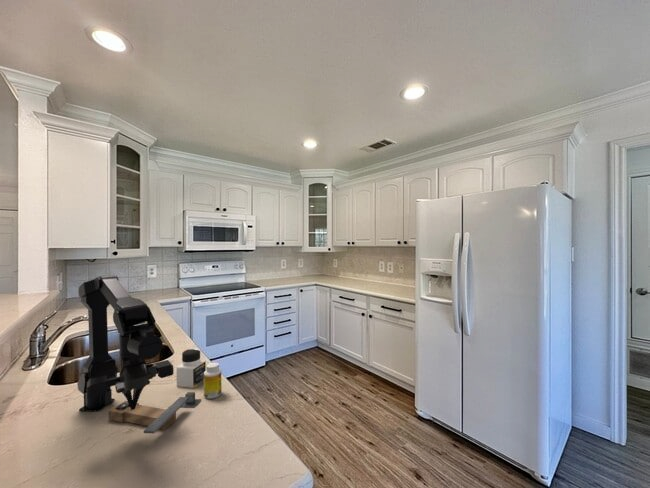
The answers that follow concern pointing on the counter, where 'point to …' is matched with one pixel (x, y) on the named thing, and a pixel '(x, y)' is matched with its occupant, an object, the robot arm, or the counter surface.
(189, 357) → the medicine bottle
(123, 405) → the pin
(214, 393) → the supplement bottle
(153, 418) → the tan wooden bar
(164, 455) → the counter surface
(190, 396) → the grey flat bar piece
